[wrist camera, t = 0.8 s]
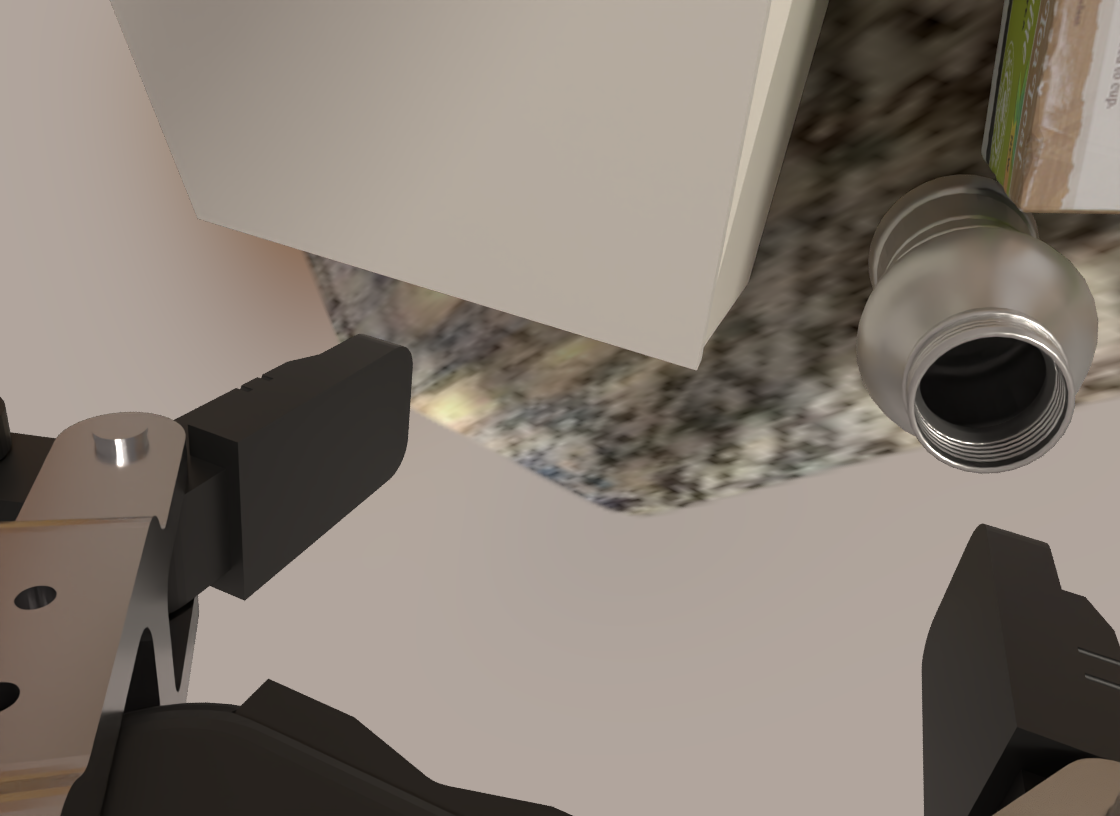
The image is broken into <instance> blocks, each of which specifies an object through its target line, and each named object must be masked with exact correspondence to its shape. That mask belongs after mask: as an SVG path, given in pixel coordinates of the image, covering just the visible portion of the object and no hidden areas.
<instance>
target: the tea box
mask: <svg viewBox="0 0 1120 816" xmlns="http://www.w3.org/2000/svg"><path fill="white" fill-rule="evenodd" d="M981 154H982V156H983V159H984V160H985V162H986V163H987V164H988V165H989V167H990V169H991V171H992V172H993V173H994V174H995V176H996V179H997V181H998V182H999V183H1000V184H1001V185H1002V186H1003V188H1004V191H1005V193H1006V194H1007V196H1008V198H1009V199H1010V200H1011V201H1012V202H1013V203H1014V204H1015V205H1016V206H1017V208H1018V209H1019V210H1020V211H1022V212H1025V213H1079V214H1120V0H1004V6H1003V13H1002V21H1001V28H1000V35H999V41H998V46H997V53H996V59H995V65H994V71H993V77H992V84H991V91H990V98H989V104H988V111H987V117H986V124H985V130H984V137H983V143H982V149H981Z"/></svg>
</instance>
